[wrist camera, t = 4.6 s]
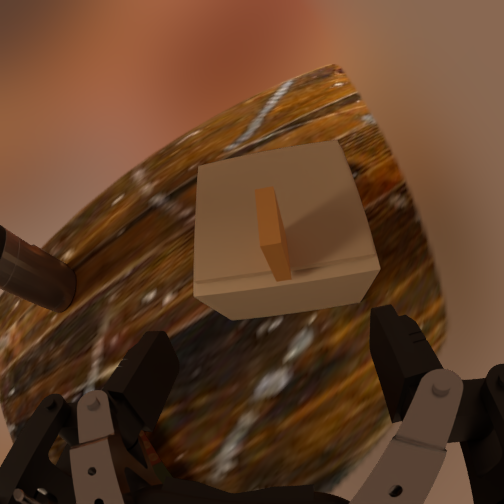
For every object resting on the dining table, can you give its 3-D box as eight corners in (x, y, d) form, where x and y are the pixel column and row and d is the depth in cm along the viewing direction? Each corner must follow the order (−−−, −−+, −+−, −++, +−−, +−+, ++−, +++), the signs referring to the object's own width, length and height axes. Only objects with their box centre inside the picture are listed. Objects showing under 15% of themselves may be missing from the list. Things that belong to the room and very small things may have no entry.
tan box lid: (201, 170, 29) (173, 123, 22) (336, 145, 26) (336, 89, 20) (197, 295, 23) (152, 263, 16) (375, 268, 20) (398, 224, 14)
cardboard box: (228, 223, 40) (197, 173, 29) (338, 205, 37) (341, 146, 27) (232, 320, 34) (193, 296, 23) (360, 302, 31) (380, 269, 21)
